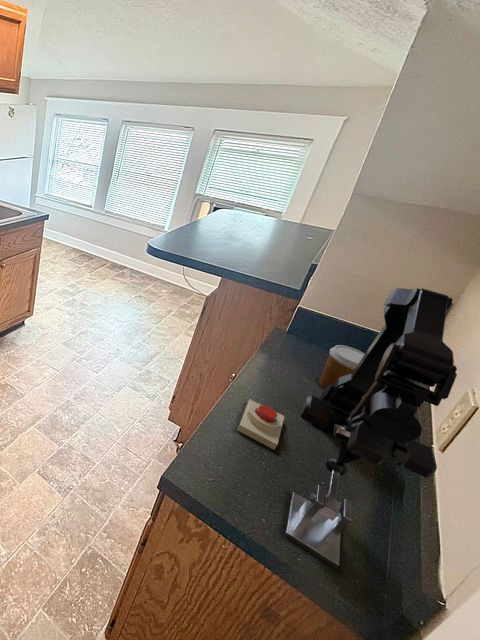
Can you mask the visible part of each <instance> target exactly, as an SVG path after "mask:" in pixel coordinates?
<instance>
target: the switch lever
mask: <svg viewBox="0 0 480 640" xmlns="http://www.w3.org/2000/svg"><path fill="white" fill-rule="evenodd" d="M325 468H326V469H327V471H328V472H329V473H330V476H329V480H328V486H327V491H326V492H327V493H326V494H325V495H324V503H323V506H322V507H321V508H320V509H319V511H318V513H320V514H322V515H323V516H325V517H327V518H329V519H330V520H332V521H333V520H334V519H335V518H336V517H337V516H338V515H339V511H340V505H341V503H342V502H341V501H338V500H337V494H338V487H339V481H340V477H341V476H344V475H346V474H347V473H348V467H347V463H345V464H341V463H339V462H338V458H336V457H330V458H328V459H327V460H326V462H325Z"/></svg>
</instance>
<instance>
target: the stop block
mask: <svg viewBox="0 0 480 640" xmlns="http://www.w3.org/2000/svg"><path fill="white" fill-rule="evenodd" d="M245 405H246V406H245V408H244V410H243V414H242V416H241V418H240V421H239V424H238V427H237V431H238V432H240V433H242V434H243V435H245V436H247V437H249V438H251V439H253V440H255V441H257V442H259V443H260V444H263V445H264V446H266V447H268V448H269V449H272V450H273V451H274V450H276V448H277V446H278V445H279V441H280V437H281V433H282V430H283V429H282V428H283V425H284V420H285V415H283V414H281V413H280V412H276V411H275V412H276V413H277V418H276V419H275V421H274V422H272V423H270V422H266V421H264V420H262V419H261V418H260V417H258V416H257V414H256V411H257V409H258V407H259V406H261V405H262V404H261V403H258V402H256V401H255V400H253V399H250V398H249V399H248V402H247V403H246V404H245Z"/></svg>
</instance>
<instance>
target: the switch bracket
mask: <svg viewBox="0 0 480 640" xmlns="http://www.w3.org/2000/svg"><path fill="white" fill-rule="evenodd" d="M325 489H326V488H325V487H324V486H322V485H320V484H318V485H317V486H316V488H315V489H314V490H313V491H312V493H310V494H309V495H308V498H305V497H304V496H301V495H299V494H298V493H297V492H294V491H292V493H291V495H290V501H289V506H288V512H287V518H286V523H285V530H284V536H285V537H287V538H288V539H291V540H292V541H294V543H296V544H298V545H299V546H302V547H303V548H305V549H306V550H307V551H309V552H311V553H313V554H314V555H315V556H317V557H318V558H320V559H322V560H323V561H325V562H327V564H330V565H331V566H333V567H335V568H336V569H337V568H338V567H340V559H341V558H340V556H341V555H340V554H341V552H340V551H341V533H342V531H343V530H345V528H346V527H347V526H348V524H350V523H351V521H352V519H353V517H352V501H349V500H348V499H343V501H342V502H340V503H341V505H340V511H339V515H338V516H337V517H336V518H335V519H334V520H333V521H332V520H330V519H329V518H327V517H325V516H323V515H322V514H320V513H318V511H319V509H320V508H321V507H322V506H323V503H324V497H325V492H326V491H325Z"/></svg>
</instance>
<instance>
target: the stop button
mask: <svg viewBox="0 0 480 640" xmlns="http://www.w3.org/2000/svg"><path fill="white" fill-rule="evenodd" d="M260 405H261V406H259V407H258V409H257V411H256V414H257V416H258V417H260V418H261V419H262V420H264V421H266V422H270V423H272V422H274V421H275V419H276V418H277V413H278V412H277V413H276V410H275V409H274V408H272V407H270V406H268V405H264V404H260Z"/></svg>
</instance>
